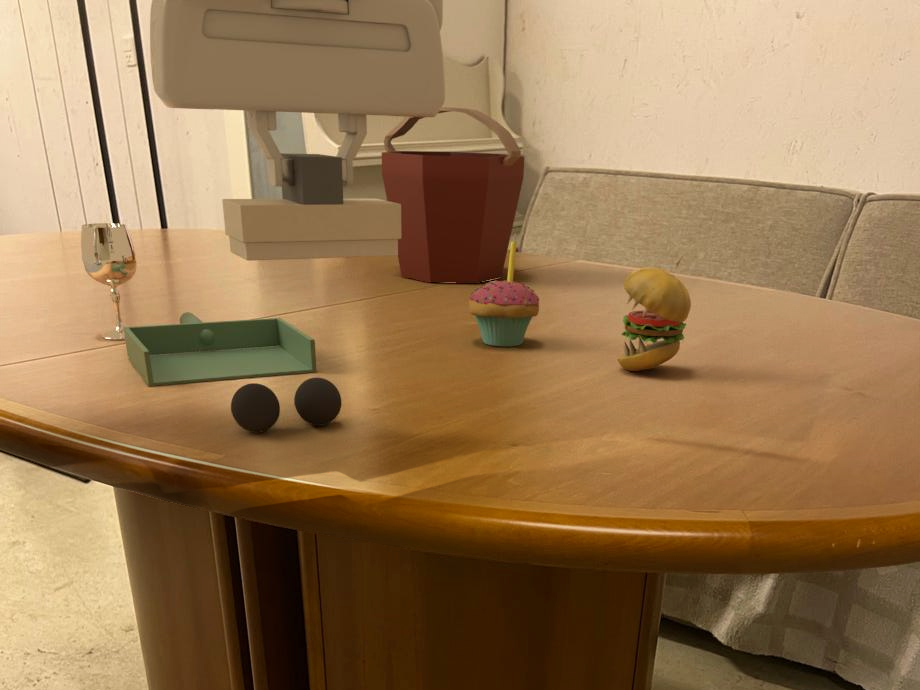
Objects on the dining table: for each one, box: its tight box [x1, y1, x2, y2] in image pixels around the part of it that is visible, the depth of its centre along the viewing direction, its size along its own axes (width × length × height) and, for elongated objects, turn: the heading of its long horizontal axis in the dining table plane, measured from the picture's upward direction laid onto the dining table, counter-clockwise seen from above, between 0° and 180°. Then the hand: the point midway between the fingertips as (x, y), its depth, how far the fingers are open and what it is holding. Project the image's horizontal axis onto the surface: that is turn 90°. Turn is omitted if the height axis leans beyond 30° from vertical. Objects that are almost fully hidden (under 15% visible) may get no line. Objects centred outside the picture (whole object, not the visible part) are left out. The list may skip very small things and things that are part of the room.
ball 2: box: [293, 377, 342, 426], centre depth 80 cm, size 4×4×4 cm
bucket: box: [381, 106, 525, 283], centre depth 152 cm, size 24×22×25 cm
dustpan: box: [123, 311, 318, 387], centre depth 101 cm, size 22×17×3 cm
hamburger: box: [617, 254, 692, 372], centre depth 98 cm, size 8×7×12 cm
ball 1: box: [230, 382, 281, 433], centre depth 77 cm, size 4×4×4 cm
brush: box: [222, 152, 401, 262], centre depth 68 cm, size 5×12×7 cm, turn 118°
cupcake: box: [468, 233, 540, 348], centre depth 109 cm, size 9×8×12 cm
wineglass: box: [80, 222, 137, 341], centre depth 106 cm, size 6×6×12 cm
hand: (311, 186), depth 67 cm, fingers closed on brush, 3 cm apart
